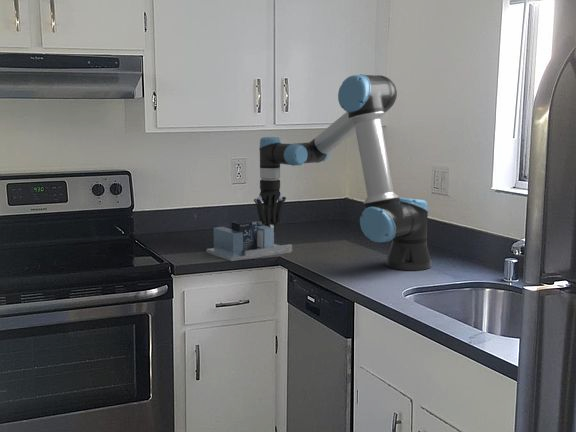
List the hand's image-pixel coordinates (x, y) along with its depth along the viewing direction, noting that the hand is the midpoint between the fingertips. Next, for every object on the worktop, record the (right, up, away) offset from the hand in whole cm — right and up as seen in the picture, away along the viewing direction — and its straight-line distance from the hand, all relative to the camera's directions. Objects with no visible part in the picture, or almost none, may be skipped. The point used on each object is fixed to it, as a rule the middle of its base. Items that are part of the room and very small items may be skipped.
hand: (270, 241), depth 279 cm
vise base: (-7, -4, -5) cm, 10 cm away
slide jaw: (-4, -2, -3) cm, 6 cm away
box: (-9, -3, -7) cm, 12 cm away
